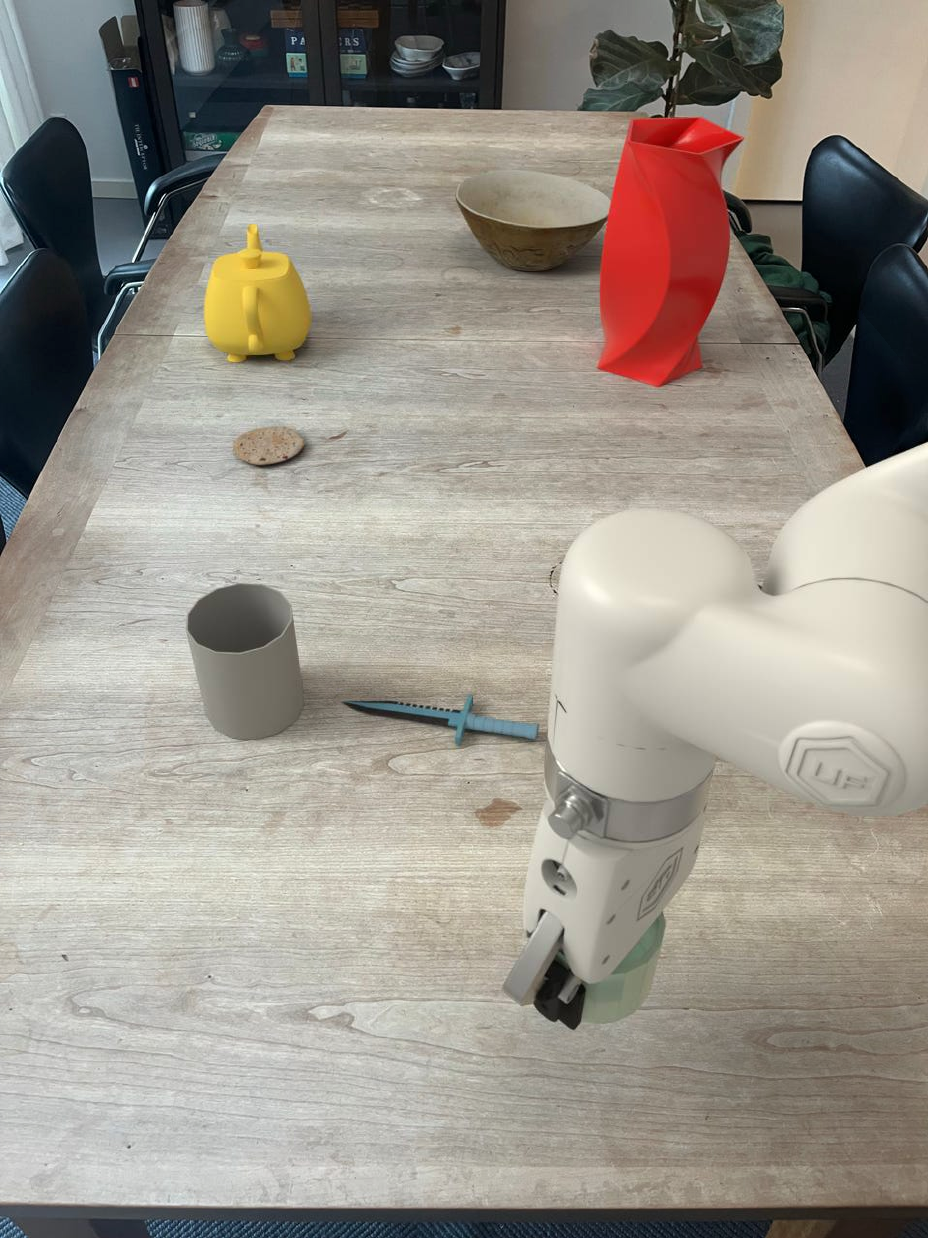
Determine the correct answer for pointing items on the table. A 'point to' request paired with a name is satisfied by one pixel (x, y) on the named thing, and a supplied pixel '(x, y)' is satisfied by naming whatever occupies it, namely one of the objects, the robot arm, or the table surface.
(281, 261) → the teapot
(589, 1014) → the green tumbler
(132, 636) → the table surface
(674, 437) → the table surface
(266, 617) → the cup
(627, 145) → the vase
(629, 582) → the robot arm
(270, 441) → the flatbread
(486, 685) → the table surface
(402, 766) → the table surface
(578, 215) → the bowl
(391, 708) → the knife
